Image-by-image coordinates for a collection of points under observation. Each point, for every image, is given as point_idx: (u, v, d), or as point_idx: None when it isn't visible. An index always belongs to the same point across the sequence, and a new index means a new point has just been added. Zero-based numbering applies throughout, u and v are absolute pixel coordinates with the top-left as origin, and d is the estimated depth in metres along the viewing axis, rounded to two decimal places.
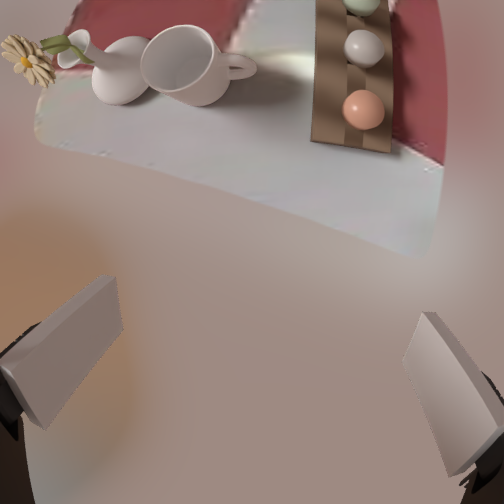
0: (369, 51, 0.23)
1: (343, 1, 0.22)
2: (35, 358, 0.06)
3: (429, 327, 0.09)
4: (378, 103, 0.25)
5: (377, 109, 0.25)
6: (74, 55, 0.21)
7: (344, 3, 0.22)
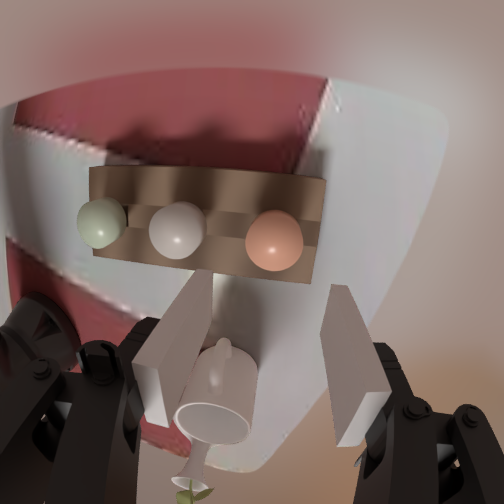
0: (181, 229, 0.22)
1: None
2: (171, 352, 0.07)
3: (334, 297, 0.11)
4: (263, 224, 0.21)
5: (273, 226, 0.21)
6: None
7: None
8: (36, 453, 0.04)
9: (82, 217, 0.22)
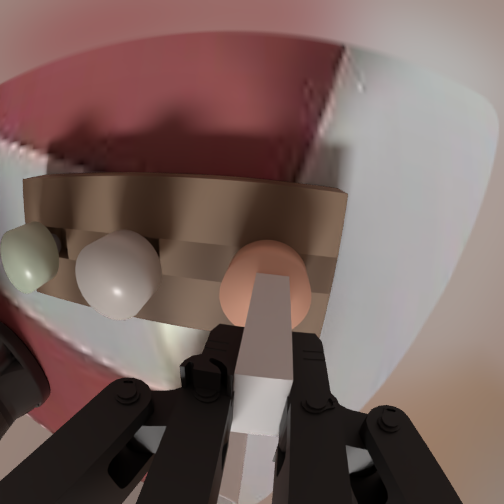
0: (117, 279, 0.13)
1: None
2: None
3: (271, 287, 0.12)
4: (247, 268, 0.13)
5: (263, 272, 0.13)
6: None
7: (46, 281, 0.16)
8: (108, 482, 0.04)
9: (5, 251, 0.13)
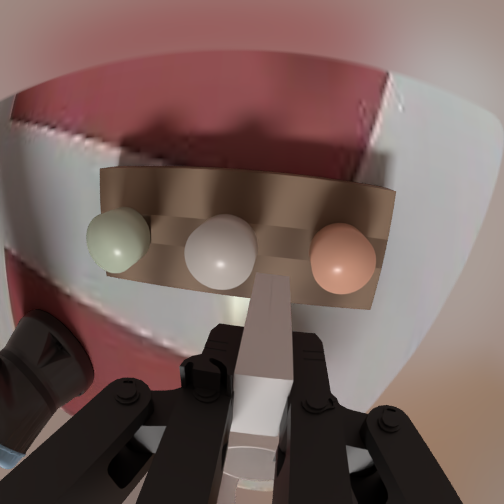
0: (230, 253, 0.17)
1: None
2: None
3: (271, 287, 0.12)
4: (334, 241, 0.17)
5: (344, 244, 0.17)
6: None
7: None
8: (108, 482, 0.04)
9: (93, 233, 0.18)
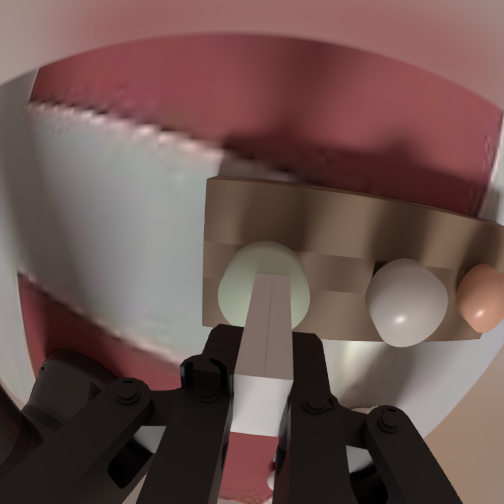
0: (427, 307, 0.13)
1: None
2: None
3: (271, 287, 0.12)
4: (493, 285, 0.13)
5: (498, 287, 0.13)
6: None
7: None
8: (108, 482, 0.04)
9: (234, 284, 0.13)
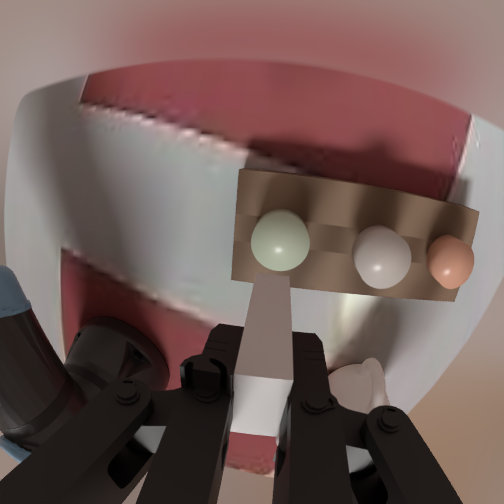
0: (395, 258, 0.19)
1: None
2: None
3: (271, 287, 0.12)
4: (453, 249, 0.19)
5: (458, 251, 0.19)
6: None
7: None
8: (108, 482, 0.04)
9: (262, 233, 0.21)
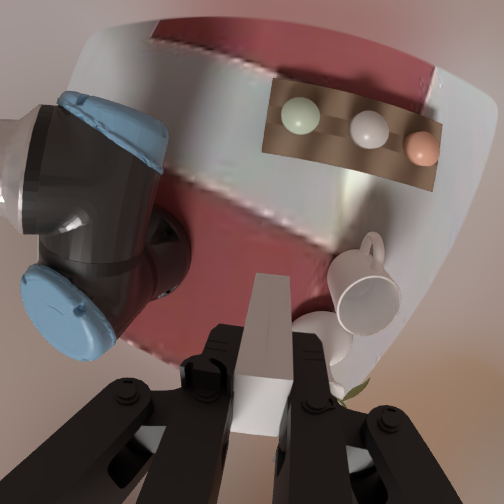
0: (377, 127, 0.27)
1: (302, 134, 0.31)
2: None
3: (271, 287, 0.12)
4: (421, 135, 0.27)
5: (425, 138, 0.27)
6: None
7: (305, 134, 0.31)
8: (108, 482, 0.04)
9: (289, 107, 0.29)
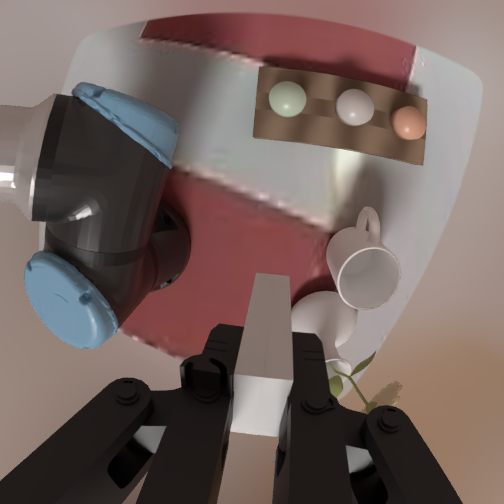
0: (362, 104, 0.27)
1: (290, 117, 0.32)
2: None
3: (271, 287, 0.12)
4: (406, 110, 0.28)
5: (410, 112, 0.28)
6: (330, 370, 0.34)
7: (293, 116, 0.32)
8: (108, 482, 0.04)
9: (276, 91, 0.29)
